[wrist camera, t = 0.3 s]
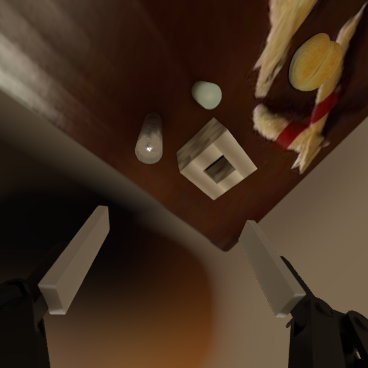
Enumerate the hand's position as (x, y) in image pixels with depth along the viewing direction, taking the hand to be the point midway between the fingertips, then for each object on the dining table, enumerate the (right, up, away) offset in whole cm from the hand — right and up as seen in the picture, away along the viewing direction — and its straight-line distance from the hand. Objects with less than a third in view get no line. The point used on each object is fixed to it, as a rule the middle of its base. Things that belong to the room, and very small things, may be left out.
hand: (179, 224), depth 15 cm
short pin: (+4, +23, +17) cm, 28 cm away
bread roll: (+26, +28, +16) cm, 41 cm away
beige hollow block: (+7, +12, +25) cm, 29 cm away
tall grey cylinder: (-6, +18, +19) cm, 27 cm away
